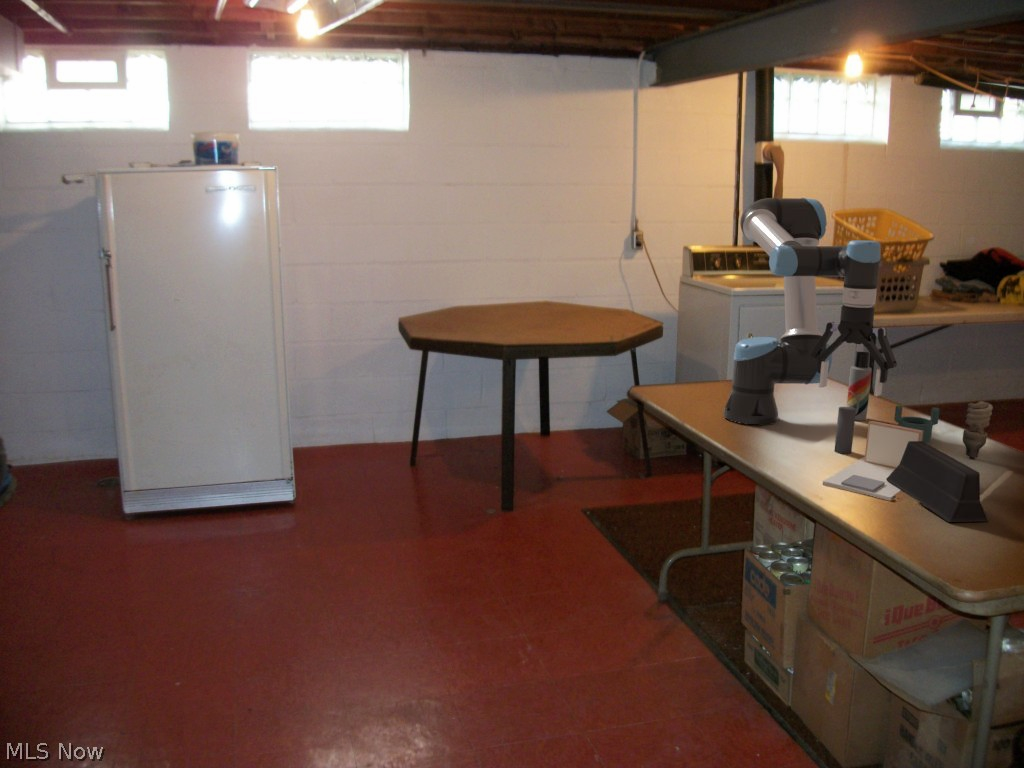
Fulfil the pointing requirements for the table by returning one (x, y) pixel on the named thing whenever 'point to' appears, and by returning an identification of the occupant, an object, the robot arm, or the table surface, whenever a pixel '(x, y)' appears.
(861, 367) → the lotion bottle
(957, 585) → the table surface
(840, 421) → the tool handle
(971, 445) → the light bulb
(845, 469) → the board
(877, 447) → the tile
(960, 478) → the barrier
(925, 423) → the bracket
